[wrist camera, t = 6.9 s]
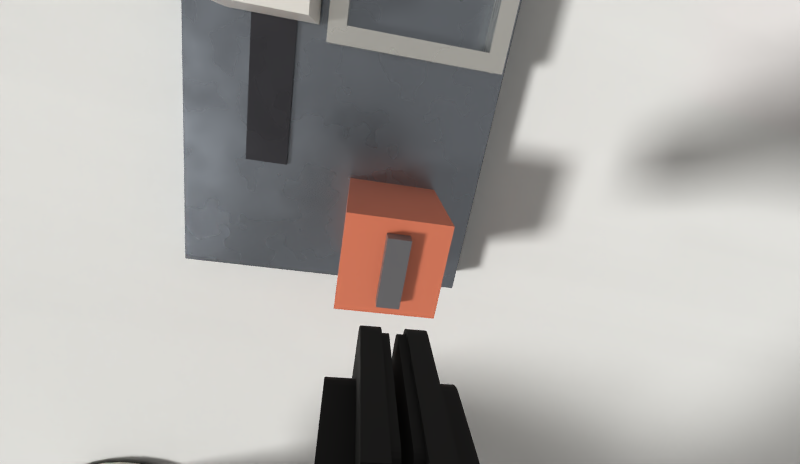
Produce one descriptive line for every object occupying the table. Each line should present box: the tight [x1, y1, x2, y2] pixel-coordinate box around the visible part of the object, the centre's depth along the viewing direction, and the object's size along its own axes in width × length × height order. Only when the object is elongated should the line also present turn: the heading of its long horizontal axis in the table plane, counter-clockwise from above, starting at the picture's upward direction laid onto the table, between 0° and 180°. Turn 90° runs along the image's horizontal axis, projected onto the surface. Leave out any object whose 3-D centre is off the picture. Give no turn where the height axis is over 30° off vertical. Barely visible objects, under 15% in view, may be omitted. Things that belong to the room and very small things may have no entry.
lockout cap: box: [334, 178, 455, 318], centre depth 20 cm, size 4×4×6 cm
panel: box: [181, 0, 521, 288], centre depth 20 cm, size 21×15×3 cm
